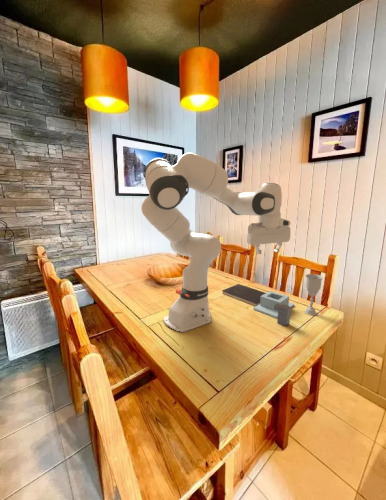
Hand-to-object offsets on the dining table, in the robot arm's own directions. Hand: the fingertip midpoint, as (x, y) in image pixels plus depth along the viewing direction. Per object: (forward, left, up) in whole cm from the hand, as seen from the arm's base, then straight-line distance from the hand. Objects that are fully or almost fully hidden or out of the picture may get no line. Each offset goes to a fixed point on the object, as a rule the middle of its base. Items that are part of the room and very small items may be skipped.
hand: (267, 253), depth 101 cm
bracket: (-3, -10, -29) cm, 31 cm away
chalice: (+15, -15, -29) cm, 36 cm away
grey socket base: (+8, -1, -29) cm, 30 cm away
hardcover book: (+11, +17, -30) cm, 36 cm away
